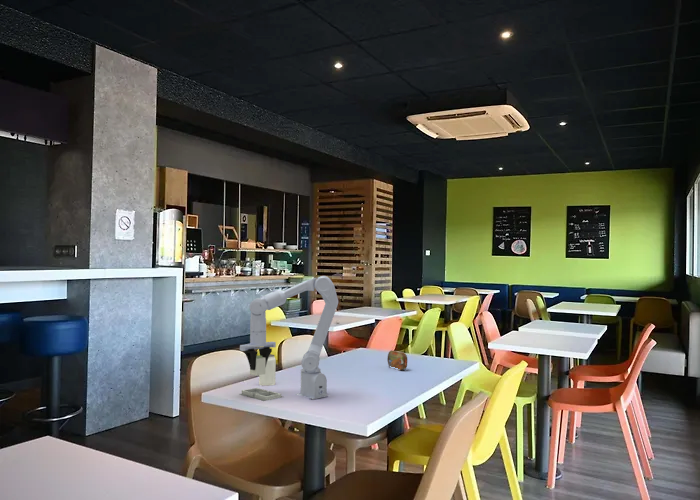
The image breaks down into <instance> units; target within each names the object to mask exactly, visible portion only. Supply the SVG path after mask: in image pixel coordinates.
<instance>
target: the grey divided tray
mask: <svg viewBox="0 0 700 500" xmlns="http://www.w3.org/2000/svg"><path fill="white" fill-rule="evenodd" d="M238 395H240V396H243V397H248V398H251V399H255V400H259V401H263V402H266V401H272V400H276V399H280V398H284V396H283V395H282V393H279V392H275V391H271V390H269V391H268V390H267V389H263V388H260V387H253V388H247V389H242V390H241V393H239V394H238Z"/></svg>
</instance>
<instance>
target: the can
mask: <svg viewBox="0 0 700 500" xmlns="http://www.w3.org/2000/svg"><path fill="white" fill-rule="evenodd" d="M276 360H277V359H276V357H275V354H271V353H270V355H269V358H268V360H267V364H266V368H265V374H264V375H258V385H259V386H262V387H270V386H275V385H276V366H277V363H276Z"/></svg>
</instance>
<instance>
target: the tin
mask: <svg viewBox="0 0 700 500" xmlns="http://www.w3.org/2000/svg"><path fill="white" fill-rule="evenodd" d="M387 365H388V367H389V366H391V367H395V368H398V369H400V370H399V371H404V370H403V369H405V370H406V369H407V367H408V356H407V354H406V353H405V352H403V351H400V350H399V351H398V350H390V351H389V352H388V354H387Z"/></svg>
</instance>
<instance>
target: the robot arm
mask: <svg viewBox="0 0 700 500" xmlns="http://www.w3.org/2000/svg"><path fill="white" fill-rule="evenodd" d="M335 287H336V286H335V284H334V283H333V281H332V279H331V278H330V277H328V276H326V275H321V276H319V277H314V278H310V279H307V280H304V281H302V282H300V283H298V284H295V285H293V286H292V287H289V288H287V289H285V290H281V289H279V288H278V289H275V288H274V289H272V290H271V292H268V293H267V294H262V295H259V296H260V297H258V298H254V299H253V300H252V301H251V302H250V304H249V311H250V322H249V323H250V324H249V325H250V329H249V331H250V334H249V335H250V336H249V343H247V344H246V343H245V344H240V345H239V351H241V352H244V355H245V356H246V358H247V361H248V365H249V371H250V370H255V367H256V356H258V354H259V355H261V356H262V357H265V368H266V364H267V360H268V358H269V355H270V354H271V353H272V352H273V348H276V346H277V345H276V343H277V342H276V341H267V316H266V314H267V313H266V311H271V310H273V309H276V308H278V307H279V306H282V305H284V304H286V302H287V299H289V298H292V297H294V296H296V295H299V294H301V293H304V292H307V291H310V292H314V291H315V290H316V291H317V292H318V293H319V295H321V298H322V299H323V301H324V303H325V305H324V306H323V310H322V311H321V314H320V317H319V321H318V323H317V325H316V328H315V330H314V334H313V335H312V336H313V337H312V339H311V342H310V345H309V347H308V350H307V351H306V352H305V353H304V354H303V356H302V359H301V368H302V369H300V393H296V394H295V395H297V396H300V397H305V398H308V399H310V400H316V399H321V398H322V399H323V398H326V397H328V396H329V395H328V393H327V389H328V388H327V387H328V386H327V382H328V381H327V380H328V379H327V376H326V375H325V374H324V373H322V372H321V368H320V367H319V366H320V355H321V353H322V350H323V347H324V343H325V341H326V339H327V336H328V333H329V330H330V327H331V325H332V322H333V318H334V316H335V313H336V312H337V311H336V310H337V308H338V306H339V305H338V304H339V299H338V295H337V292H336V288H335ZM256 350H257V351H256ZM258 352H259V353H258Z"/></svg>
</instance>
